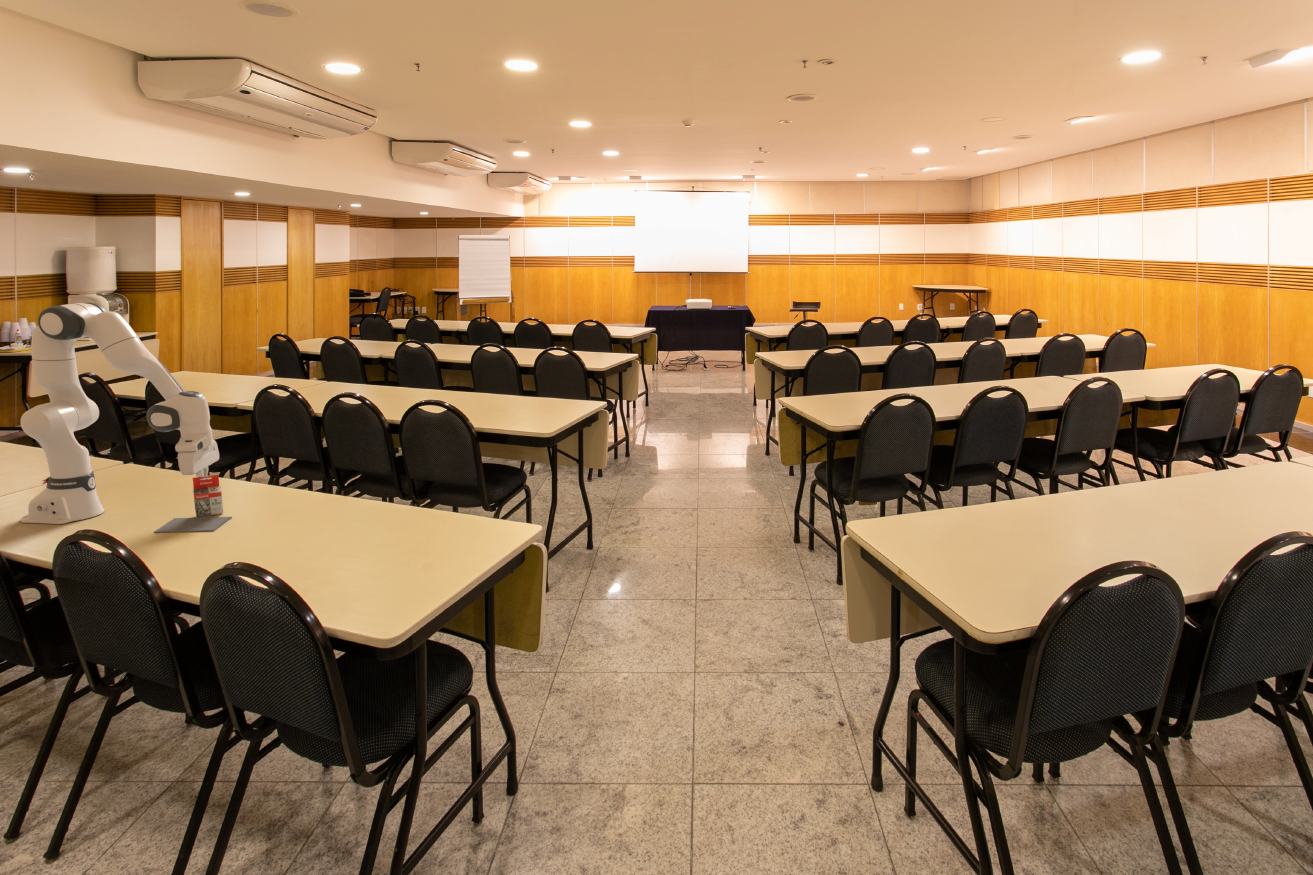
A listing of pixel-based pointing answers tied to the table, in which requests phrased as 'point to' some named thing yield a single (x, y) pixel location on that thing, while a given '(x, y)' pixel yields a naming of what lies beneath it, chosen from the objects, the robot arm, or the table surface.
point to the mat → (193, 524)
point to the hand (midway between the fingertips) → (203, 480)
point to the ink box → (207, 496)
